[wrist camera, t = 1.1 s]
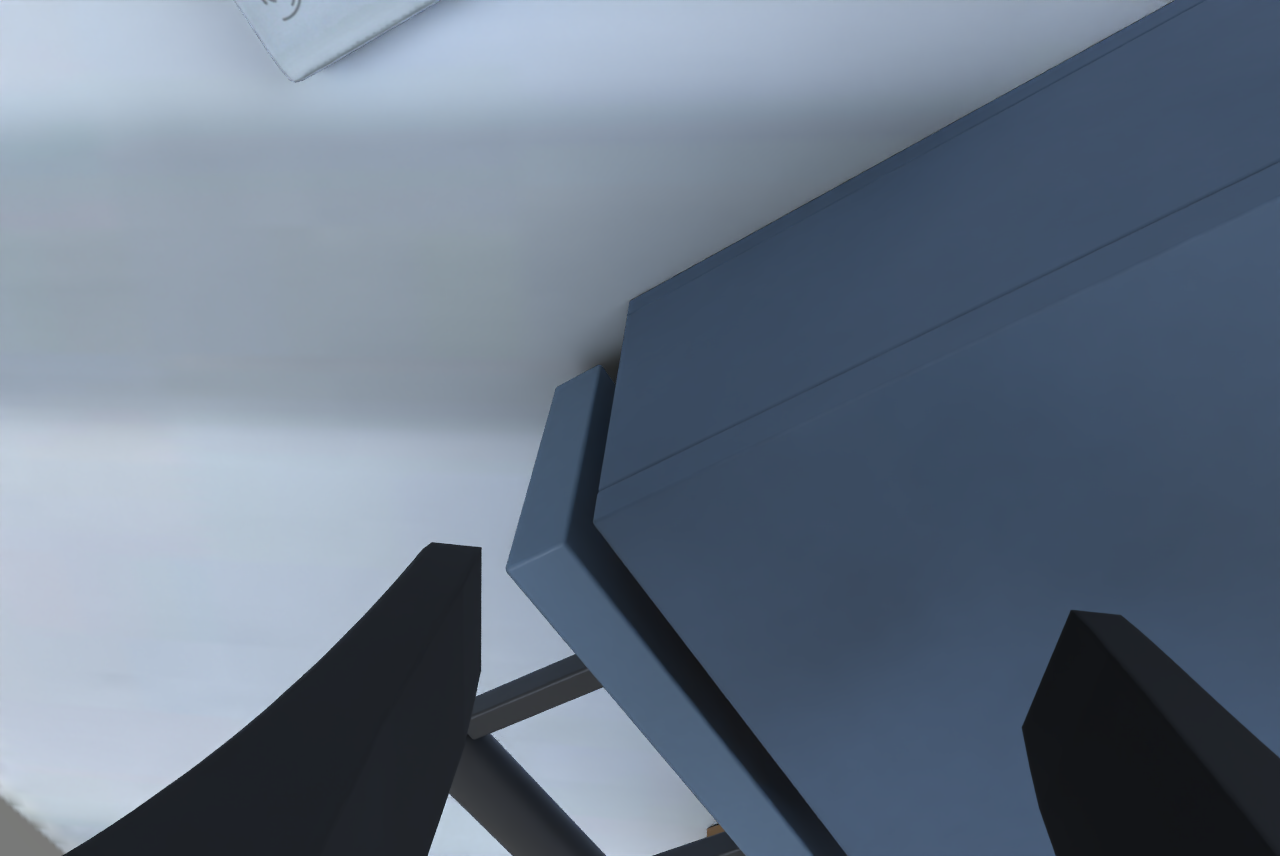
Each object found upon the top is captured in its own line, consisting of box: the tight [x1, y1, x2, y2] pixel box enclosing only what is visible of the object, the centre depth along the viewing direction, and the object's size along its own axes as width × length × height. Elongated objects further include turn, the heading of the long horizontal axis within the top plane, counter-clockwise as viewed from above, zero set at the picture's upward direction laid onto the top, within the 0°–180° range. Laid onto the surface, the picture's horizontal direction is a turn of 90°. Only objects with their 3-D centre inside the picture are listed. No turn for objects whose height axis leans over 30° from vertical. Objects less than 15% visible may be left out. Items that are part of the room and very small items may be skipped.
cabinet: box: [593, 0, 1280, 856], centre depth 18 cm, size 14×15×8 cm
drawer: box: [449, 365, 847, 856], centre depth 20 cm, size 18×13×6 cm
